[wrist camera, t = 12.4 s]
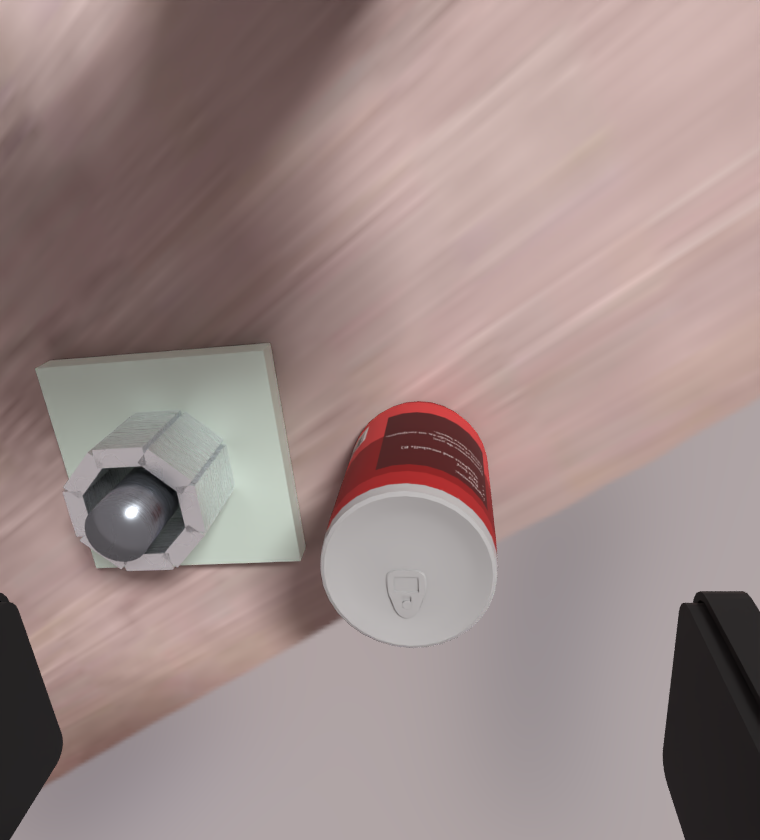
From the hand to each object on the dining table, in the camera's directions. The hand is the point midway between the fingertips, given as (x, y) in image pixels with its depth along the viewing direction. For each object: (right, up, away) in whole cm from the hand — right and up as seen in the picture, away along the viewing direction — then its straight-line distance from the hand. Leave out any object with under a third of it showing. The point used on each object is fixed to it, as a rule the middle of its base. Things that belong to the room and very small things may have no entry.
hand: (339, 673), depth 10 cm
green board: (-11, +1, +31) cm, 33 cm away
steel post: (-11, +1, +29) cm, 31 cm away
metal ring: (-11, +1, +29) cm, 32 cm away
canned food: (+3, +1, +30) cm, 30 cm away
